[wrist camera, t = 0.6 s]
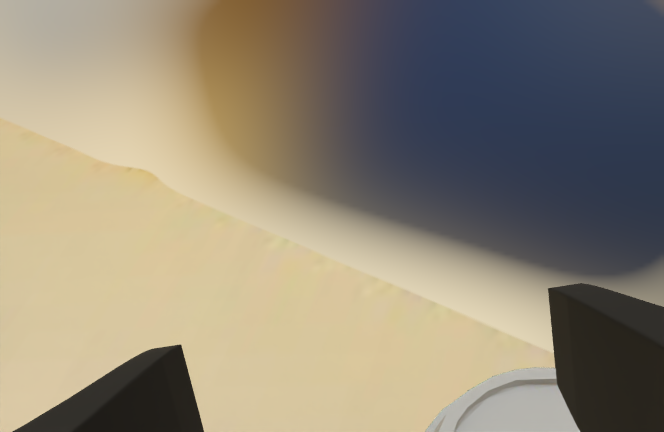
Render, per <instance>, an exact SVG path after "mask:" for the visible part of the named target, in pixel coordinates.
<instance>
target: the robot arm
mask: <svg viewBox="0 0 664 432" xmlns="http://www.w3.org/2000/svg"><path fill="white" fill-rule="evenodd" d="M548 292H549V303H550V314H551V325H552V336H553V346H554V357H555V368H556V379H557V385H558V388H559V390H560V392H561V394H562V396H563V398H564V401H565V403H566V405H567V407H568V409H569V411H570V413H571V415H572V417H573V419H574V421H575V423H576V425H577V427H578V429H579V430H580V432H664V307H662V306H658V305H655V304H652V303H649V302H645V301H643V300H639V299H636V298H633V297H630V296H627V295H624V294H621V293H618V292H614V291H611V290H608V289H604V288H601V287H597V286H593V285H589V284H582V283H580V284H574V285H567V286H561V287H554V288H549V289H548ZM13 432H204V430H203V426H202V422H201V418H200V415H199V411H198V407H197V403H196V399H195V396H194V392H193V388H192V384H191V381H190V377H189V373H188V369H187V365H186V362H185V358H184V354H183V350H182V346H181V345H175V346H168V347H162V348H155V349H151V350H148V351H146V352H143V353H141V354H139V355H138V356H136V357H134V358H132V359H130V360H129V361H127V362H125V363H124V364H122V365H120V366H119V367H117V368H116V369H114V370H112V371H111V372H109V373H108V374H106V375H105V376H103V377H102V378H100V379H98V380H97V381H95V382H94V383H92V384H91V385H89V386H87V387H86V388H84V389H83V390H81V391H80V392H78V393H77V394H75V395H73V396H72V397H70V398H69V399H67V400H65V401H64V402H62V403H60V404H59V405H57V406H55V407H54V408H52V409H50V410H49V411H47V412H45V413H44V414H42V415H40V416H39V417H37V418H35V419H34V420H32V421H30V422H29V423H27V424H25V425H24V426H22V427H20V428H18V429H17V430H15V431H13Z"/></svg>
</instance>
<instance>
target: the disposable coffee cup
mask: <svg viewBox="0 0 664 432" xmlns="http://www.w3.org/2000/svg"><path fill="white" fill-rule="evenodd" d="M425 432H580V430H579V429H578V427H577V425H576V423H575V421H574V419H573V417H572V415H571V413H570V411H569V409H568V407H567V405H566V403H565V401H564V398H563V396H562V394H561V392H560V390H559V388H558V385H557V379H556V368H538V367H534V368H526V369H517V370H513V371H509V372H506V373H502V374H499V375H495V376H492V377H491V378H489V379H487V380H485V381H484V382H482V383H480V384H478V385H477V386H475V387H473V388H471V389H470V390H468V391H467V392H466V393H465V394H463V395H462V396H460V397H459V398H458V399H456V400H455V401H454V402H452V403H451V404H449V405H448V406H447V407H445V408H444V409H442V410H441V412H440V413H439V414H438V415H437V417H436V418H435V419H434V420H433V422H432V423H431V424H430V425H429V427H428V428H427V429H426V431H425Z"/></svg>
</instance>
